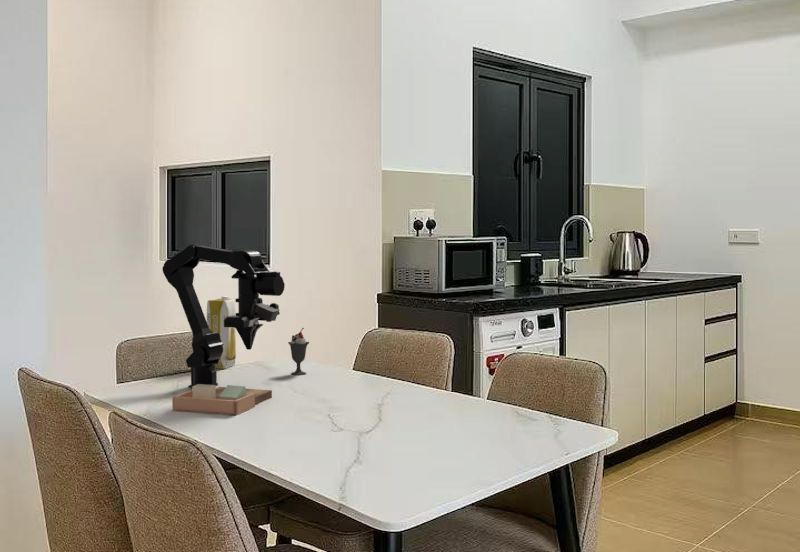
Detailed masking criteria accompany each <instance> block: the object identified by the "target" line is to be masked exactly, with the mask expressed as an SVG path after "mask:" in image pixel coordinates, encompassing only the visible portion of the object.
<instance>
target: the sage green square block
mask: <svg viewBox="0 0 800 552" xmlns="http://www.w3.org/2000/svg"><path fill="white" fill-rule="evenodd" d="M225 387H226V388H225V389H224V391H223V392H222V393H221V395H220V396H219V398H220V400H234V401H235V400H237V399H240V398H242V397H245V396H247V392H246V389H247V388H246V386H245V385H232V384H231V385H230V384H228V385H226V386H225Z"/></svg>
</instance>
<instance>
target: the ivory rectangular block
mask: <svg viewBox="0 0 800 552" xmlns="http://www.w3.org/2000/svg"><path fill="white" fill-rule="evenodd" d="M216 386H217V385H205V384H197V385H194V386H192V388H191V390H192V398H206V399H216V388H217V387H216Z"/></svg>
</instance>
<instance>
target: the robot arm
mask: <svg viewBox="0 0 800 552" xmlns="http://www.w3.org/2000/svg"><path fill="white" fill-rule="evenodd" d="M201 260H203V261H209V262H210V261H211V262H214V263H220V264H226V265H227V266H229V267H231V268H233V269H235V270H236V272H235V273H234V274H233V275H232V276H231V279H237V282H238V283H237V287H238V288H237V289H238V291H237V292H238V297H237V298H235V303H238V304H237V305H238V312H235V316H229V317H226V318H225V319H224V327H234V328H236V331H237V333H238V335H239V336H240V339H241V340H242V342H243V345H244V346H245V349H246V350H250V351H251V350H252V347H253V345H254V341H255V338H256V334H257V332H258V330H259V329H260V328H261V327H263V326H264V323H260V321H261V322H262V321H263V322H267V323H271V322H273V321H274V322H275V321H277V317H278V316H279V315H280V313H281V312H280V308H279V304H278V303H276V302H272V303H270V304H265V303H263V298H262V297H260V296H271V297H273V296H275V297H279V296H280V297H281V296H282V295H283V293H284V291H285V285H286V283H285V282H284V278H283V277H282V276H281V272H280V271H270V270H269V268H268V267H267V265H266V263H265V262H264V261H263V258H262V255H261V253H260V252H259V251H257V250H253V249H252V250H229V249H224V248H218V247H212V246H207V245H202V244H201V243H199V244H196V243H195V244H189V245H187V246H186V247H185V248H184V249H183V250H181V251H179V252H177V254H174V255H173V256H172V257H171V258H168V259H167V260H165V262H164V264H163V266H162V273H163V275H164V277H165V279H166V280H167V282H168V284H170V286H172V287H173V288H174V289H175V290H176V292H177V295H178V299H179V301H180V303H181V306H182V309H183V311H184V314H185V317H186V320H187V322H188V325H189V328H190V331H191V332H192V339H191V340H192V341H191V348H192V352H191V353H190V355H189V356H188V357H187V358H186V360H185V363H186V366H187V368H190V384H189V385H187V387H188V388H191V389H192V386H194V385H197V384H205V385H216V386H218V385H219V383H218V382H217V379H218V377H217V373H218V372H217V370H216V368H215V365H214V364H218V363H219V359H220V357H221V355H222V352H223V346H222V345H224V344H223V343H222V341H221V339H220V335H219V333H218V332H217V333H213V332H212V331H211V330H210V329H209V327H208V324H207V318H206V317H205V314H204V311H203V309H202V306H201V304H200V301H199V297H198V295H197V292H196V290H195V288H194V277H195V273H194V269H195V268H196V267H197V266H199V264H200V261H201Z"/></svg>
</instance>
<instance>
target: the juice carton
mask: <svg viewBox="0 0 800 552" xmlns="http://www.w3.org/2000/svg"><path fill="white" fill-rule="evenodd" d="M229 316H236V299H235V298H230V296H228V295H221V298H214V299H211V300H210V299H209V300H207V303H206V321H207V324H208V327H209V329H210V330H211V331H212V332H213V333H217V332H218V333H219V335H220V339H221V341H222V343H223V344H224V345H222V346H223V352H222V355H221V357H220V359H219V363H218V364H214V365H215V369H222V370H223V369H228V368H232V367H234V366H235V364H236V357H237V356H236V355H237V354H236V353H237V349H236V347H237V346H236V345H237V342H236V341H237V339H236V336H237V335H236V331H237V330H236V328H234V327H224V319H225V318H226V317H229Z"/></svg>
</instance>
